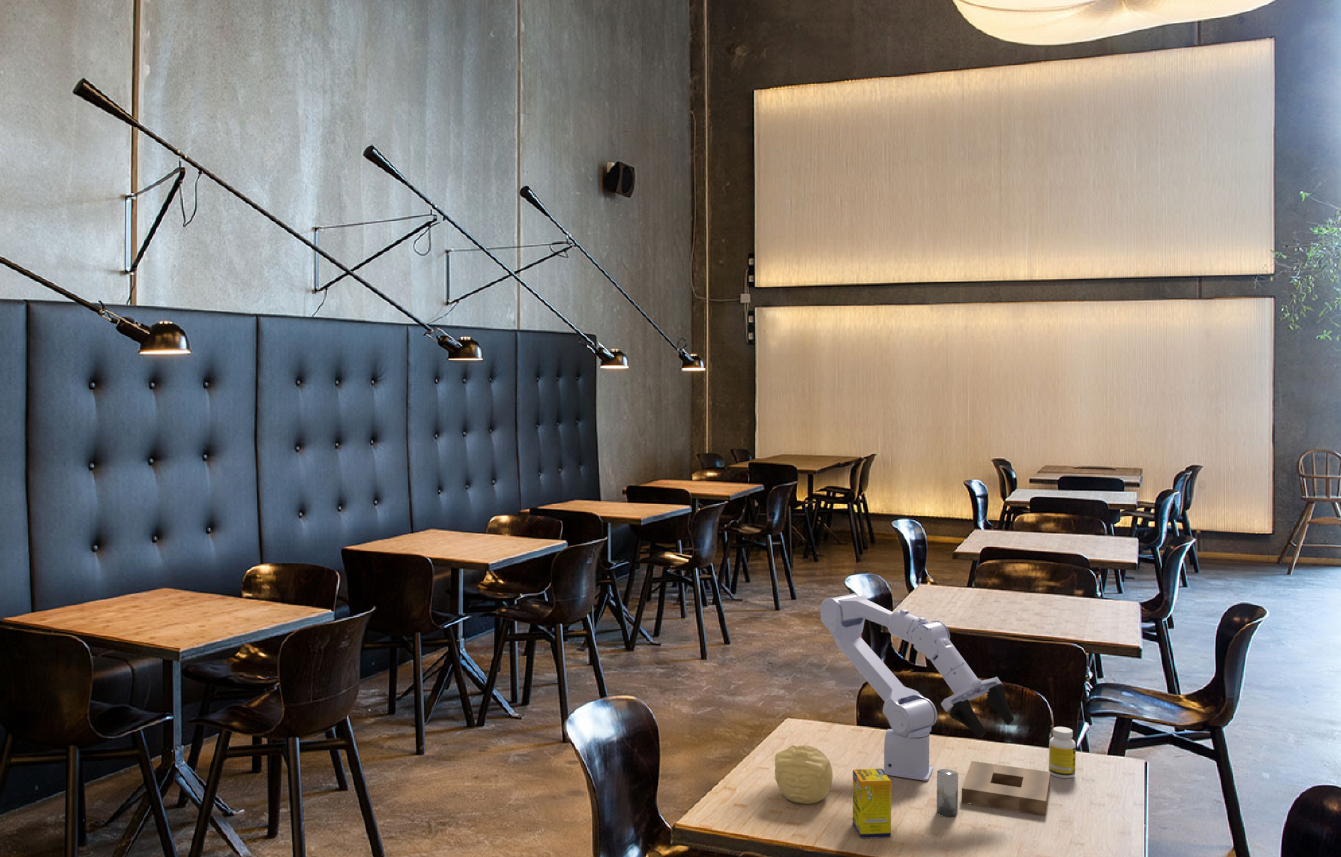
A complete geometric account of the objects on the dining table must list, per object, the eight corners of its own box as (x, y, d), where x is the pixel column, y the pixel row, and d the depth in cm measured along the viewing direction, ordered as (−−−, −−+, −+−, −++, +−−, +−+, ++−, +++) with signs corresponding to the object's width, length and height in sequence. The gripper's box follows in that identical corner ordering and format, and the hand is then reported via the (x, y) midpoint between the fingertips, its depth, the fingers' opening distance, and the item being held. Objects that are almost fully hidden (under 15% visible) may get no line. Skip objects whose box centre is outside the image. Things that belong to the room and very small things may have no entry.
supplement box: (851, 824, 195) (852, 768, 195) (882, 823, 196) (882, 767, 195) (860, 838, 189) (860, 781, 189) (891, 837, 190) (891, 779, 189)
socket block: (961, 802, 205) (961, 788, 205) (971, 774, 220) (971, 760, 220) (1045, 816, 199) (1046, 801, 199) (1050, 786, 214) (1050, 772, 214)
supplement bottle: (1077, 779, 217) (1078, 734, 217) (1050, 778, 218) (1051, 733, 218) (1072, 770, 222) (1073, 726, 222) (1046, 768, 224) (1047, 724, 223)
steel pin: (935, 815, 200) (935, 774, 199) (938, 807, 203) (938, 767, 203) (956, 818, 198) (956, 778, 198) (958, 810, 202) (959, 770, 201)
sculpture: (769, 805, 204) (769, 752, 204) (783, 783, 216) (783, 733, 215) (825, 813, 201) (826, 759, 200) (837, 790, 212) (837, 739, 211)
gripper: (936, 673, 205) (978, 731, 197) (989, 651, 211) (1032, 706, 204) (924, 691, 210) (964, 748, 202) (976, 669, 216) (1017, 723, 209)
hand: (997, 728), depth 203 cm, fingers open, 7 cm apart
